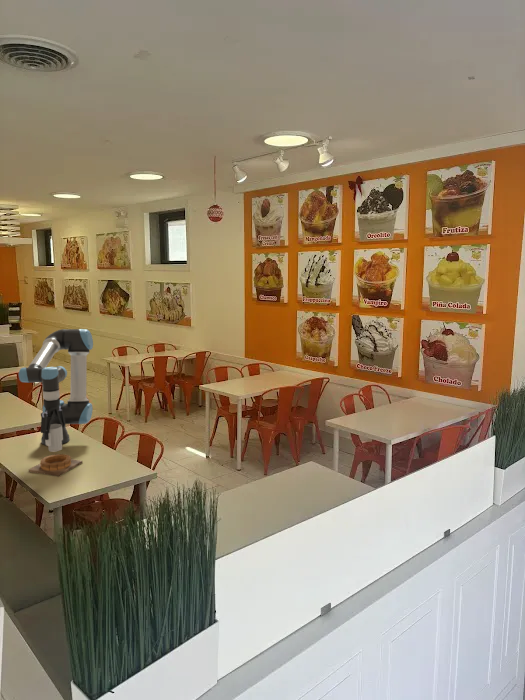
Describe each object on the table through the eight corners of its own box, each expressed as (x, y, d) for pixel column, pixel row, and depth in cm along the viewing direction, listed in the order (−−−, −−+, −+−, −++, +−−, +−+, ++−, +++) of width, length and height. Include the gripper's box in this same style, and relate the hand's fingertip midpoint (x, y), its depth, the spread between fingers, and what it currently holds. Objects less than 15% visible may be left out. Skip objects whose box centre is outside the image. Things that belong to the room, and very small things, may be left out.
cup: (58, 452, 261) (55, 429, 258) (43, 451, 262) (41, 428, 260) (67, 446, 268) (65, 424, 266) (52, 445, 270) (50, 423, 267)
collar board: (53, 458, 278) (53, 451, 277) (82, 463, 272) (82, 455, 271) (28, 471, 261) (28, 463, 260) (58, 476, 255) (58, 468, 255)
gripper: (59, 392, 271) (62, 435, 275) (30, 403, 252) (33, 448, 256) (71, 394, 269) (74, 436, 273) (42, 404, 249) (46, 450, 253)
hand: (54, 442), depth 264 cm, fingers closed on cup, 8 cm apart
